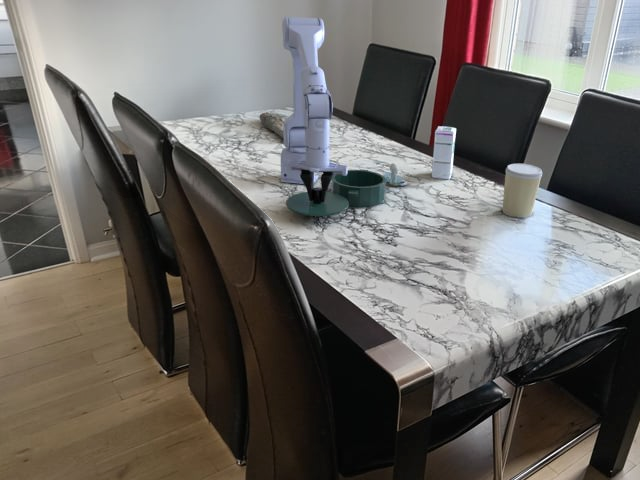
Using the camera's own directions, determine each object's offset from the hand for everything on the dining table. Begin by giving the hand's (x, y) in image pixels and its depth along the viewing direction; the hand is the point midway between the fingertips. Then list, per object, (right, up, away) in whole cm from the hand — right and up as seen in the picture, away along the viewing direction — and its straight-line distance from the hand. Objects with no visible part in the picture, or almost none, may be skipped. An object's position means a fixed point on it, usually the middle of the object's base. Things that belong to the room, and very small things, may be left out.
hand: (317, 200), depth 143 cm
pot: (+9, +3, +14) cm, 17 cm away
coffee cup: (+52, -2, +11) cm, 53 cm away
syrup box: (+34, +13, +34) cm, 50 cm away
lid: (0, -1, +1) cm, 1 cm away
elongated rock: (-21, +36, +69) cm, 81 cm away
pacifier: (+20, +9, +26) cm, 34 cm away
